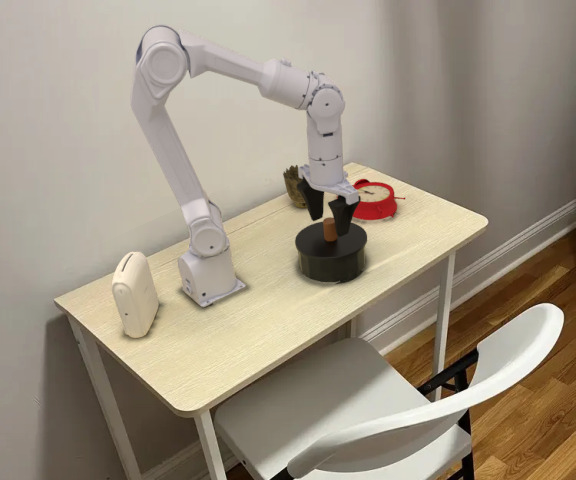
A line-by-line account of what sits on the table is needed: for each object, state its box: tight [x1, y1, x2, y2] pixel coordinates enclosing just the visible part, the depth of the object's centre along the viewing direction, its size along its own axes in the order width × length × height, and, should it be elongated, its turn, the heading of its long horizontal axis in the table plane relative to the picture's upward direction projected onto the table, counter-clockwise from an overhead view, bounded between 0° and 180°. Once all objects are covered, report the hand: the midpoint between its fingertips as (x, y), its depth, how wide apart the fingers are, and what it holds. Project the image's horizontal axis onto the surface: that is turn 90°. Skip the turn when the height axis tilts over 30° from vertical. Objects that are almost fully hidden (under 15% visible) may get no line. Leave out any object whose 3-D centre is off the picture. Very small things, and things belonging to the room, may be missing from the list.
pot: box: [297, 246, 366, 285], centre depth 127 cm, size 12×12×5 cm
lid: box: [294, 216, 368, 260], centre depth 124 cm, size 13×13×5 cm
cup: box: [282, 163, 308, 209], centre depth 144 cm, size 8×7×8 cm
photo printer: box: [110, 251, 160, 339], centre depth 117 cm, size 10×4×12 cm, turn 172°
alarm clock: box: [335, 178, 406, 221], centre depth 142 cm, size 10×6×15 cm
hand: (329, 226), depth 123 cm, fingers open, 7 cm apart
